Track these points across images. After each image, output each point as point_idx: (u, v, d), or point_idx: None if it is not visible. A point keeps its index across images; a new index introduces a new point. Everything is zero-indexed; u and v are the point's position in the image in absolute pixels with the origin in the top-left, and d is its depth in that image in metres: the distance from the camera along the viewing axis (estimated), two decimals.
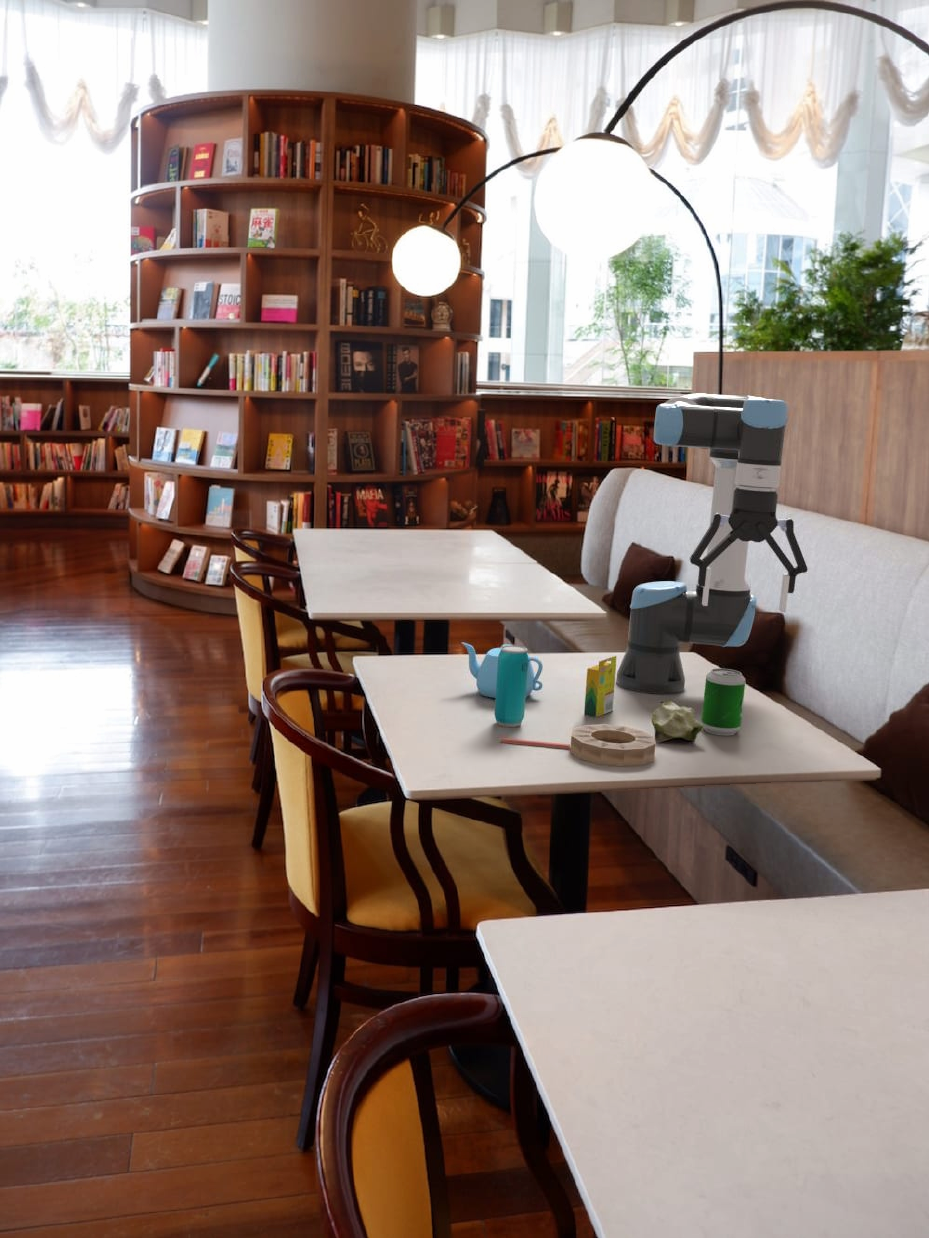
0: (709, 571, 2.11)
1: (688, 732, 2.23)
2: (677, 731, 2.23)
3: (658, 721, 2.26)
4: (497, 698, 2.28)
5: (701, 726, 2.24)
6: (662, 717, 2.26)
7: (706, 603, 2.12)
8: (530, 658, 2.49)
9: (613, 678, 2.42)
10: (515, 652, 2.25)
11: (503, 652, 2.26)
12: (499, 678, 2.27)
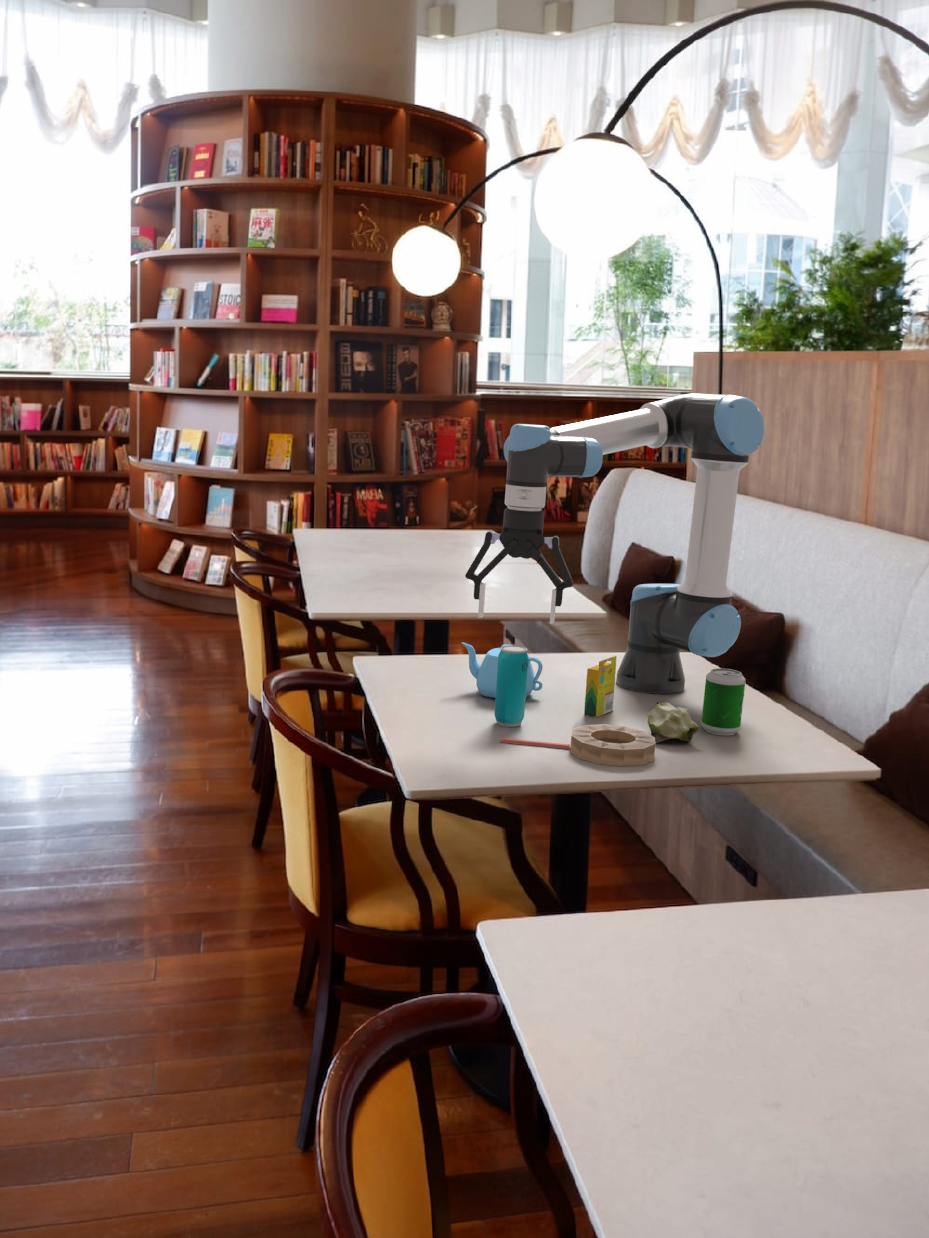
0: (482, 585, 2.25)
1: (685, 733, 2.22)
2: (673, 732, 2.23)
3: (654, 722, 2.25)
4: (497, 698, 2.28)
5: (697, 727, 2.23)
6: (658, 718, 2.26)
7: (480, 615, 2.26)
8: (530, 658, 2.49)
9: (613, 678, 2.42)
10: (515, 652, 2.25)
11: (503, 652, 2.26)
12: (499, 678, 2.27)
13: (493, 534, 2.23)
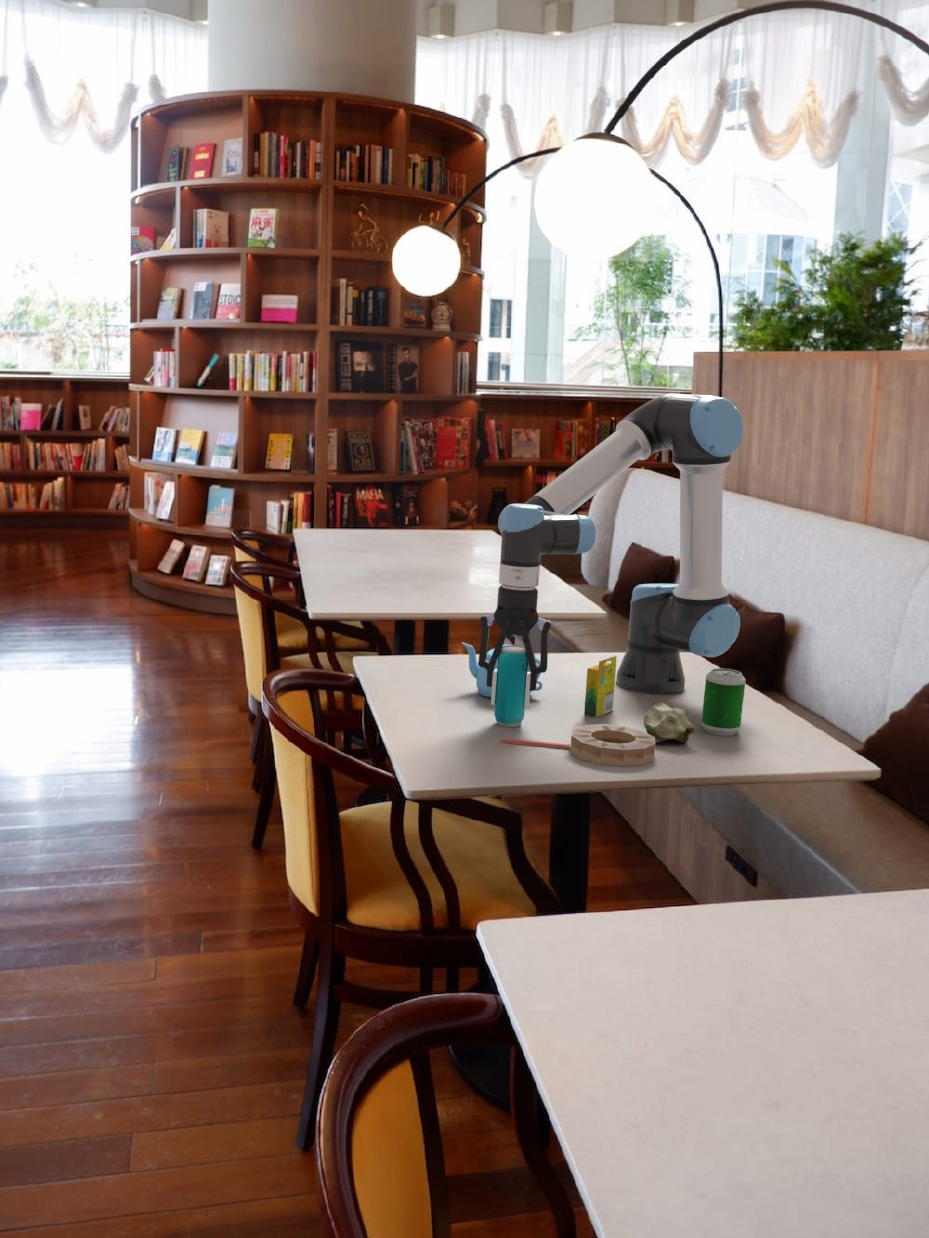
0: (495, 673, 2.27)
1: (681, 734, 2.21)
2: (670, 733, 2.22)
3: (650, 723, 2.24)
4: (497, 698, 2.28)
5: (693, 727, 2.23)
6: (654, 719, 2.25)
7: (493, 702, 2.29)
8: None
9: (613, 678, 2.42)
10: (515, 652, 2.25)
11: (503, 652, 2.26)
12: (499, 678, 2.27)
13: (487, 617, 2.27)
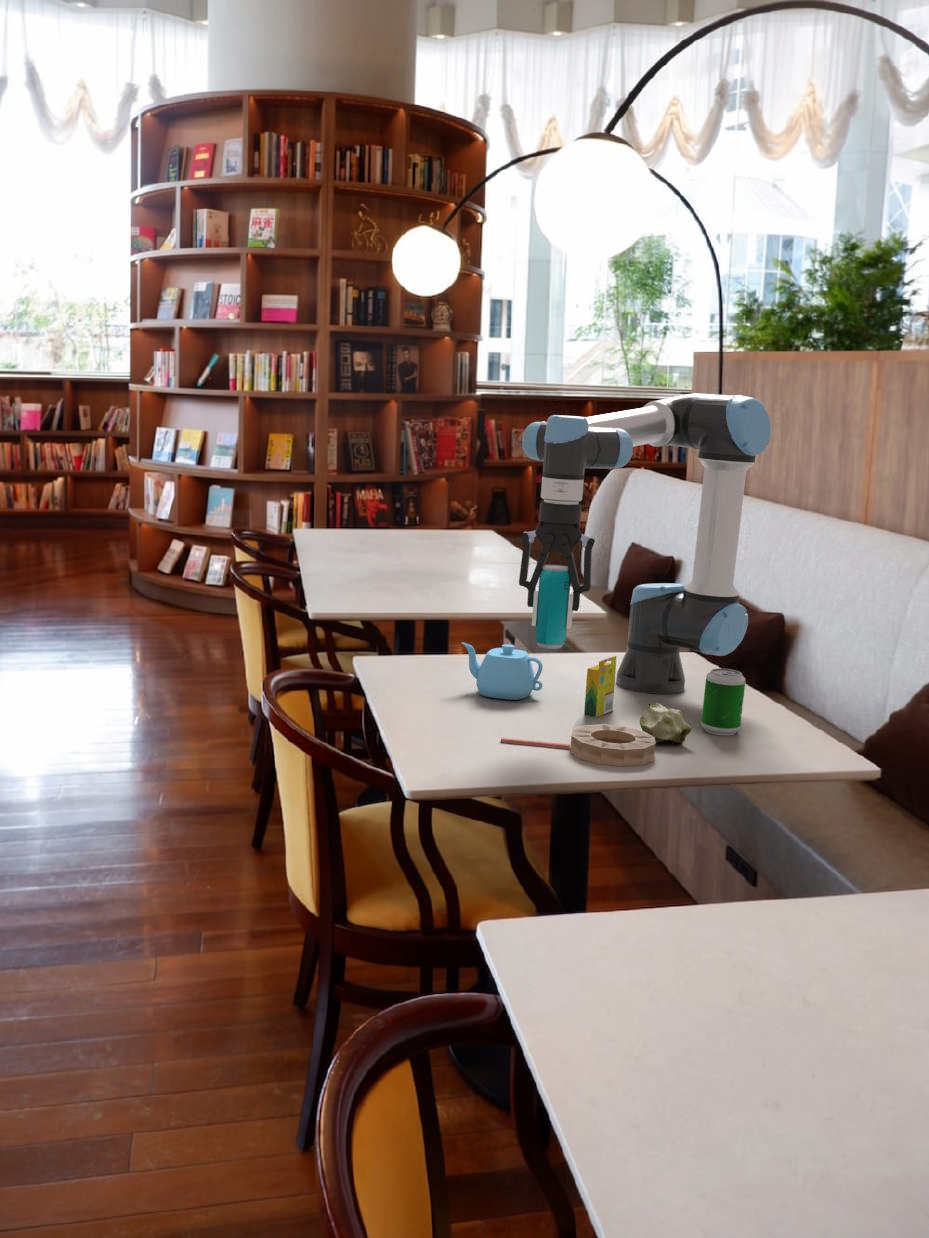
0: (536, 593, 2.19)
1: (678, 734, 2.21)
2: (666, 734, 2.22)
3: (646, 723, 2.24)
4: (538, 618, 2.20)
5: (690, 728, 2.22)
6: (650, 720, 2.24)
7: (534, 623, 2.20)
8: (530, 658, 2.49)
9: (613, 678, 2.42)
10: (557, 570, 2.17)
11: (544, 570, 2.18)
12: (540, 598, 2.19)
13: (529, 533, 2.18)
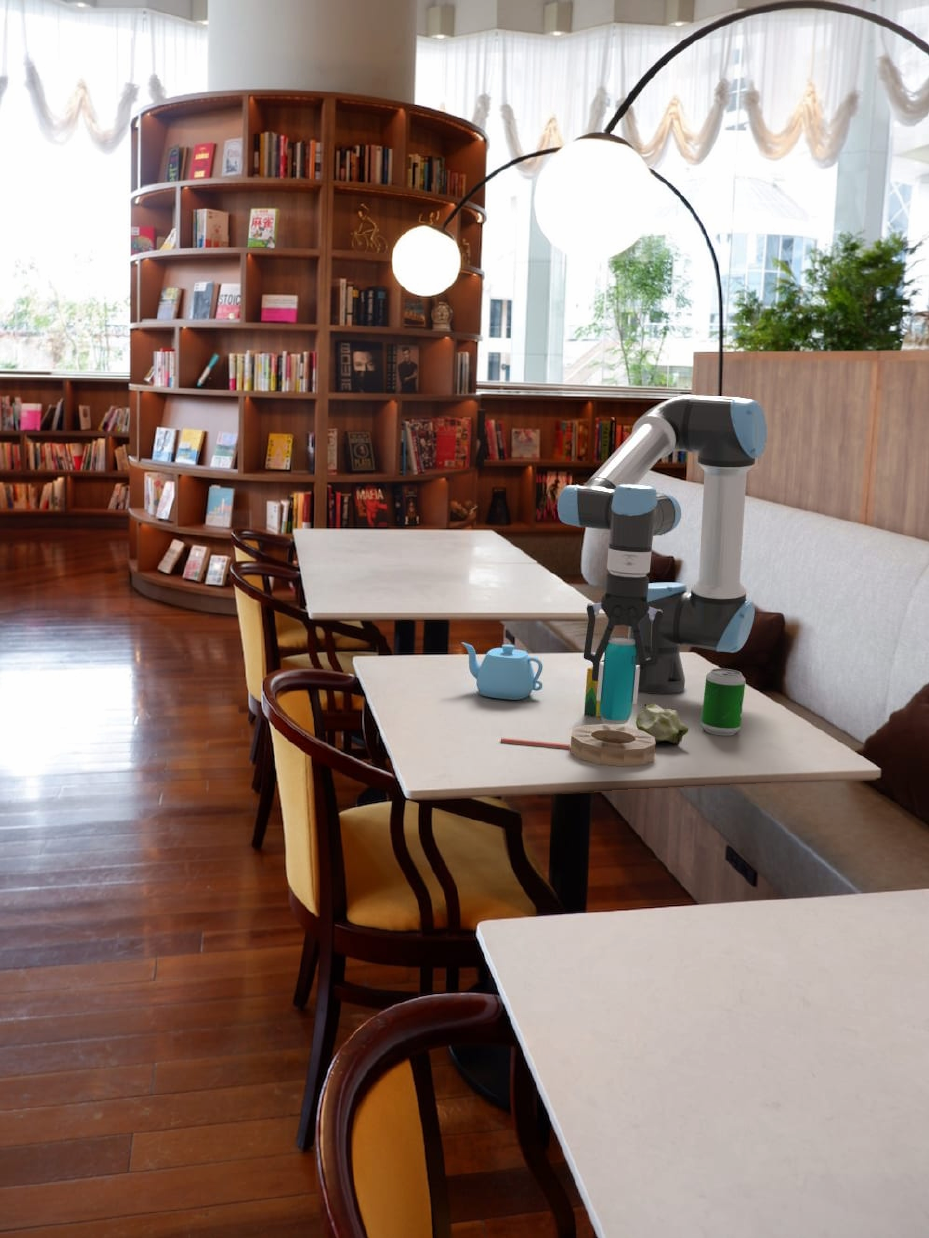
0: (602, 666, 2.12)
1: (674, 735, 2.20)
2: (663, 734, 2.21)
3: (643, 724, 2.23)
4: (603, 693, 2.13)
5: (686, 728, 2.22)
6: (646, 720, 2.24)
7: (599, 698, 2.13)
8: (530, 658, 2.49)
9: None
10: (624, 644, 2.10)
11: (611, 644, 2.11)
12: (606, 672, 2.12)
13: (594, 606, 2.11)
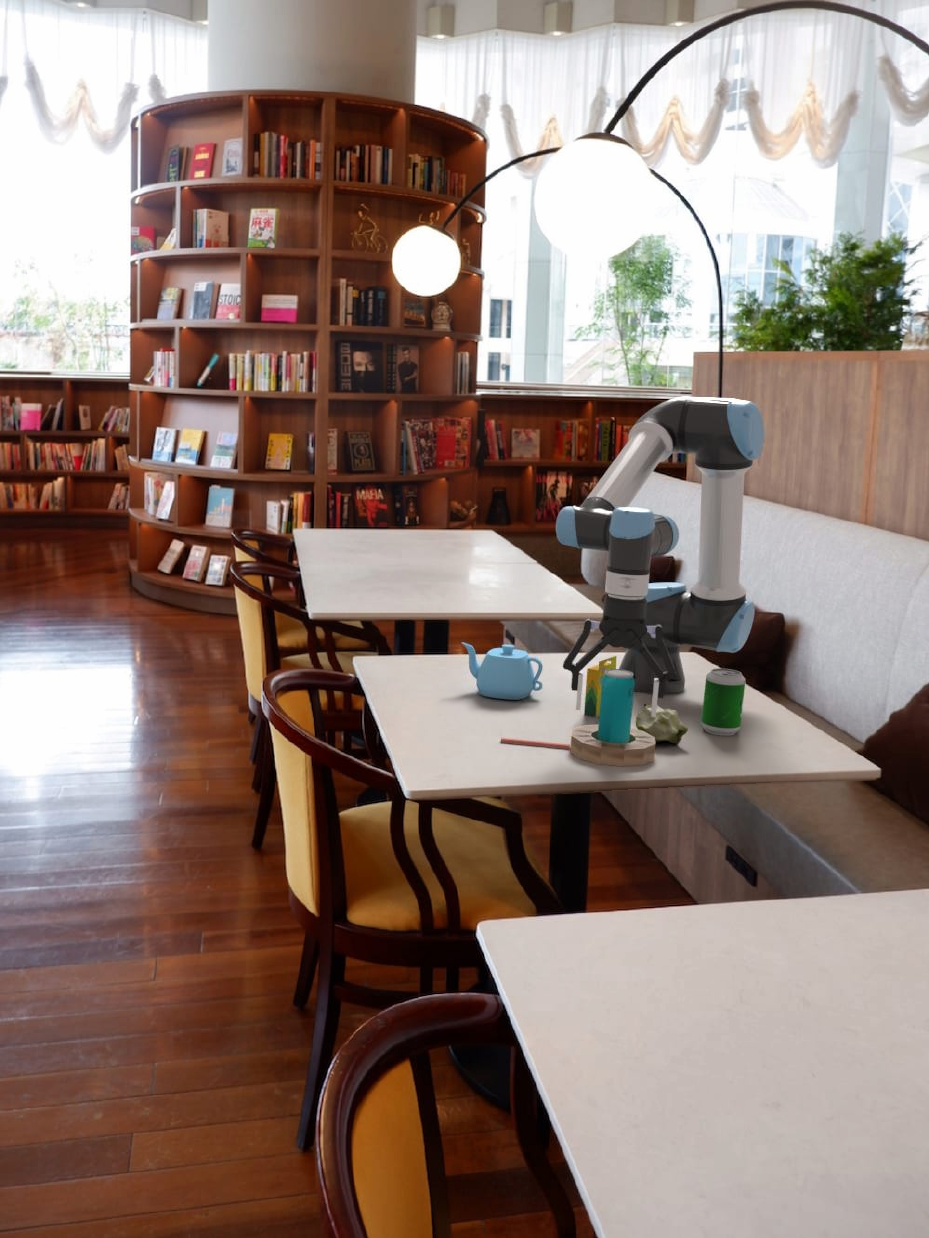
0: (581, 676, 2.13)
1: (674, 735, 2.20)
2: (662, 734, 2.21)
3: (642, 724, 2.23)
4: (601, 725, 2.14)
5: (686, 728, 2.22)
6: (646, 720, 2.24)
7: (579, 707, 2.14)
8: (530, 658, 2.49)
9: None
10: (621, 677, 2.11)
11: (608, 676, 2.12)
12: (604, 705, 2.13)
13: (592, 623, 2.12)
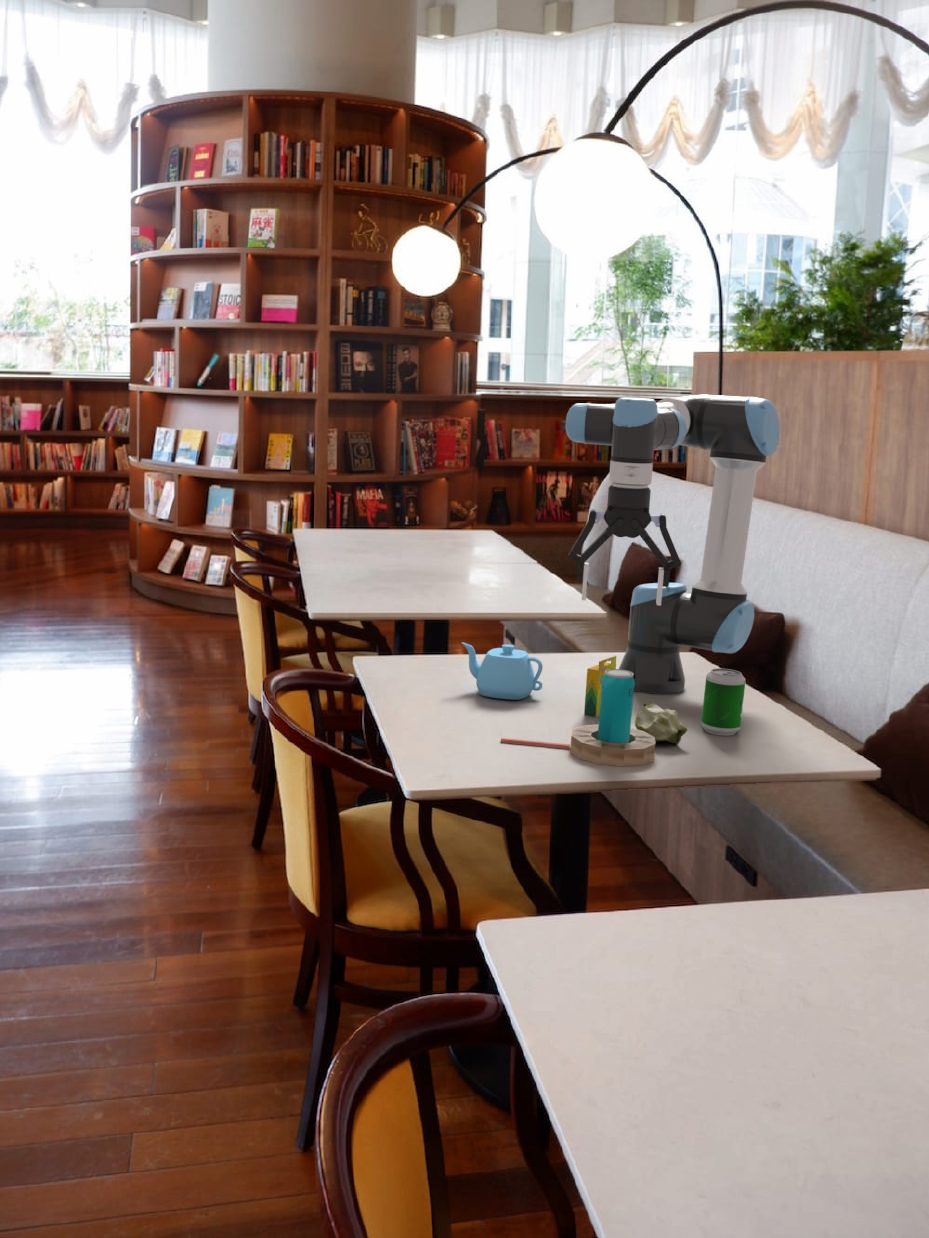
0: (586, 567, 2.16)
1: (673, 735, 2.20)
2: (662, 734, 2.21)
3: (642, 724, 2.23)
4: (601, 725, 2.14)
5: (685, 728, 2.22)
6: (645, 720, 2.24)
7: (584, 598, 2.17)
8: (530, 658, 2.49)
9: None
10: (622, 677, 2.11)
11: (608, 676, 2.12)
12: (604, 705, 2.13)
13: (597, 513, 2.15)
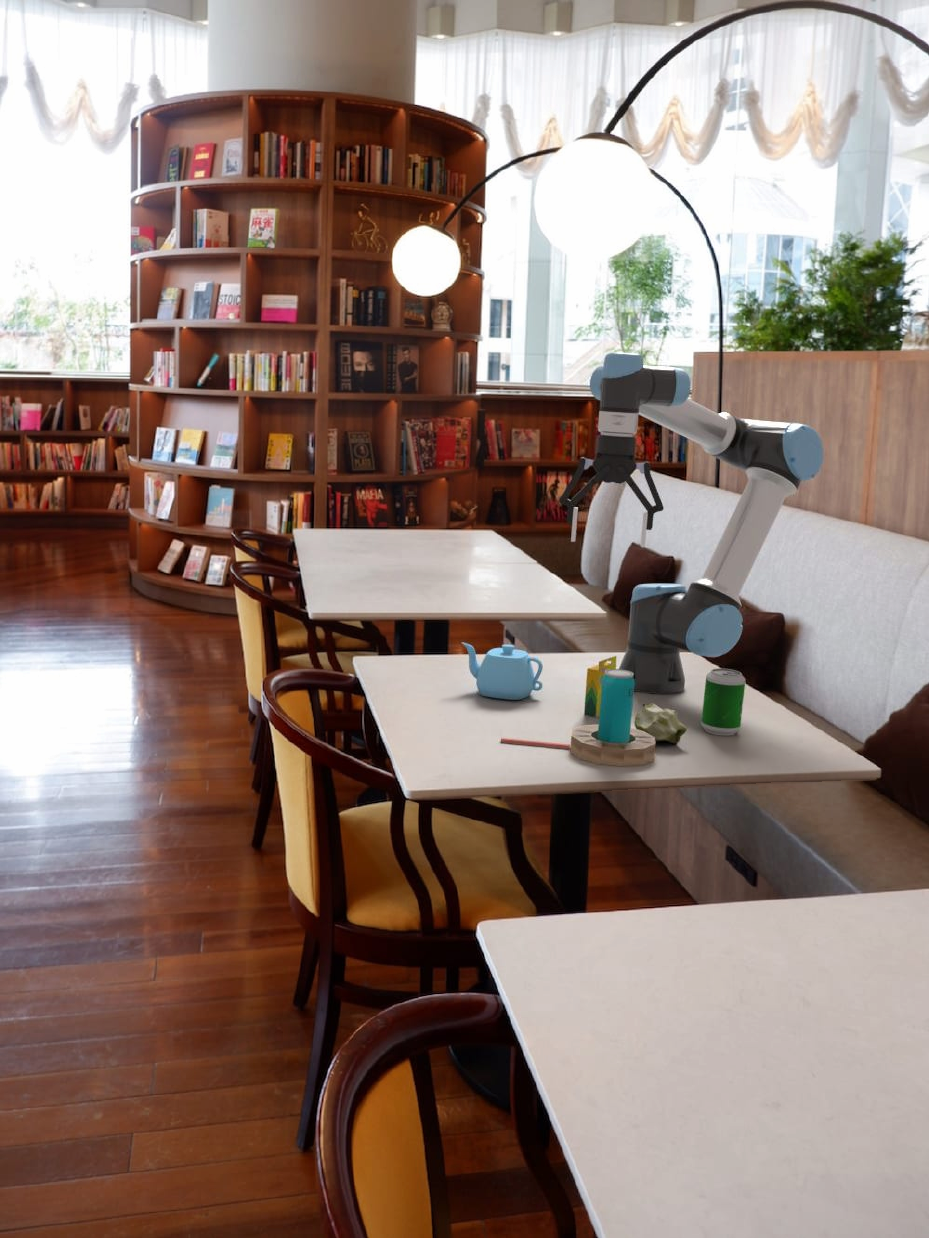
0: (576, 510, 2.33)
1: (673, 735, 2.20)
2: (661, 734, 2.21)
3: (641, 724, 2.23)
4: (601, 725, 2.14)
5: (685, 728, 2.22)
6: (645, 720, 2.24)
7: (574, 539, 2.34)
8: (530, 658, 2.49)
9: None
10: (622, 677, 2.11)
11: (608, 676, 2.12)
12: (604, 705, 2.13)
13: (586, 460, 2.31)
